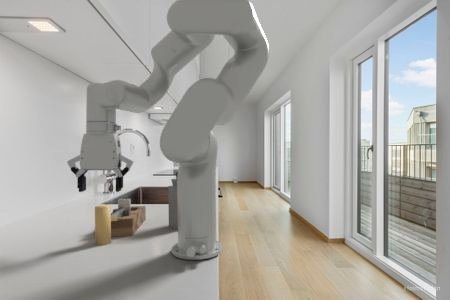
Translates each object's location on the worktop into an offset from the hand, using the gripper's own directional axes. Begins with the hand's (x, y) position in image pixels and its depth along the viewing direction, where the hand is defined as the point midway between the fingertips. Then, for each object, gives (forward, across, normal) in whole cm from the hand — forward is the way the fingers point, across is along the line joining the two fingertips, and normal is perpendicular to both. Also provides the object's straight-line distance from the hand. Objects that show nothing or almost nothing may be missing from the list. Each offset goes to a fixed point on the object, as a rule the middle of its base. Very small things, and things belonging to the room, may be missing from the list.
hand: (100, 191), depth 78 cm
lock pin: (+9, -3, -9) cm, 13 cm away
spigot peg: (+14, -1, 0) cm, 14 cm away
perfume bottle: (+14, -22, -15) cm, 30 cm away
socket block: (+14, -3, -16) cm, 21 cm away
